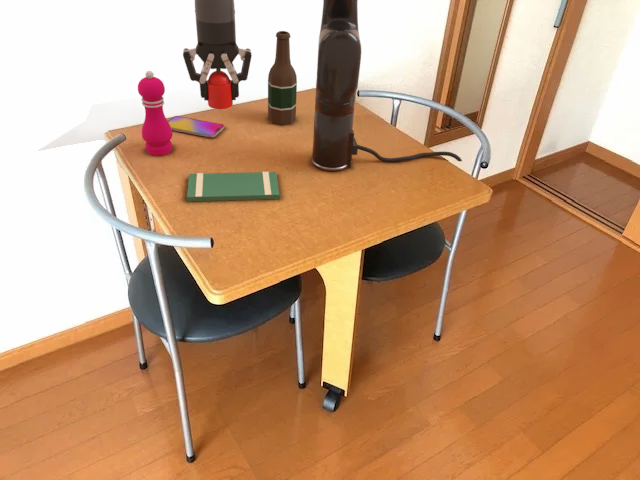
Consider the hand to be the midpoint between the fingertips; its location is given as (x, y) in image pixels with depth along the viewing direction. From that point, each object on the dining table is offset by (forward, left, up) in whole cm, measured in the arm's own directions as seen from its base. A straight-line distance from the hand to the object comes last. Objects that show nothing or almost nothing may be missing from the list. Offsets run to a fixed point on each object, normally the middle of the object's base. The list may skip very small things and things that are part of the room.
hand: (220, 98), depth 117 cm
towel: (-2, +5, -19) cm, 20 cm away
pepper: (0, 0, -1) cm, 1 cm away
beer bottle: (-16, -31, -20) cm, 40 cm away
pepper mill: (+16, -14, -20) cm, 29 cm away
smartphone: (+8, -26, -19) cm, 33 cm away
